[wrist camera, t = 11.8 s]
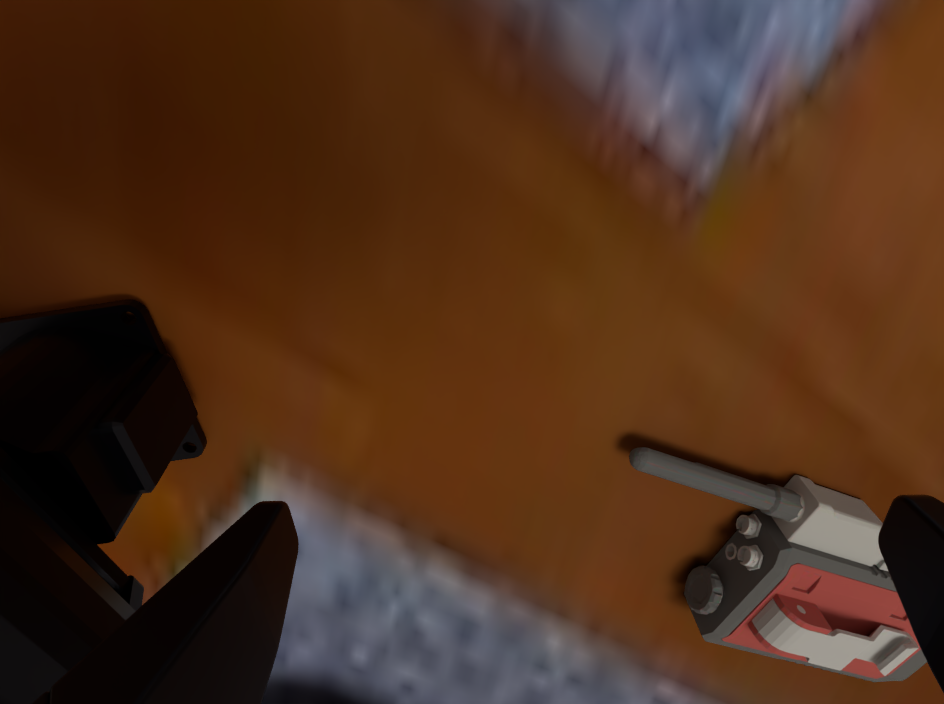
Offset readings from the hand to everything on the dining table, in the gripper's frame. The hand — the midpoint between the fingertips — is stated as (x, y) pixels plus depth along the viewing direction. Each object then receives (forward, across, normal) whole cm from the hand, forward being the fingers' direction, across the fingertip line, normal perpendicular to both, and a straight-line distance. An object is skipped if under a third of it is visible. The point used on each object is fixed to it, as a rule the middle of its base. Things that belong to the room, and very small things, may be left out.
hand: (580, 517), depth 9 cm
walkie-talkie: (+14, -11, +16) cm, 24 cm away
